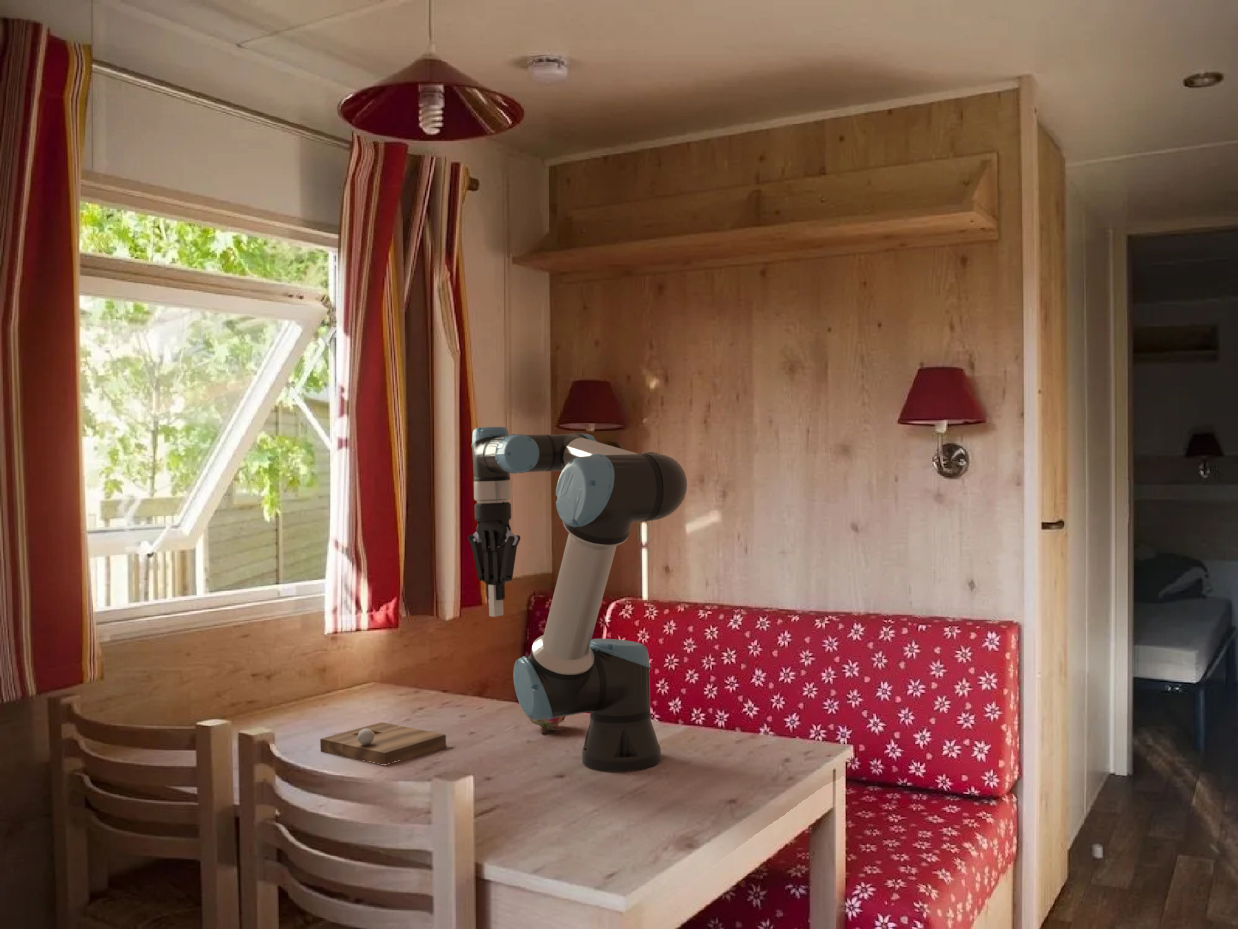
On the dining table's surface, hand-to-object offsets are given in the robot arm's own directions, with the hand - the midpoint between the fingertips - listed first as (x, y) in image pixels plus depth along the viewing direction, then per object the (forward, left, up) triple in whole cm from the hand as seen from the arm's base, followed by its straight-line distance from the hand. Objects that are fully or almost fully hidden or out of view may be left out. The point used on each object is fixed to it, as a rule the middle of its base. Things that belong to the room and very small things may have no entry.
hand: (496, 615), depth 229 cm
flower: (-2, -12, -27) cm, 29 cm away
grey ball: (+15, +23, -22) cm, 35 cm away
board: (+17, +17, -26) cm, 35 cm away
